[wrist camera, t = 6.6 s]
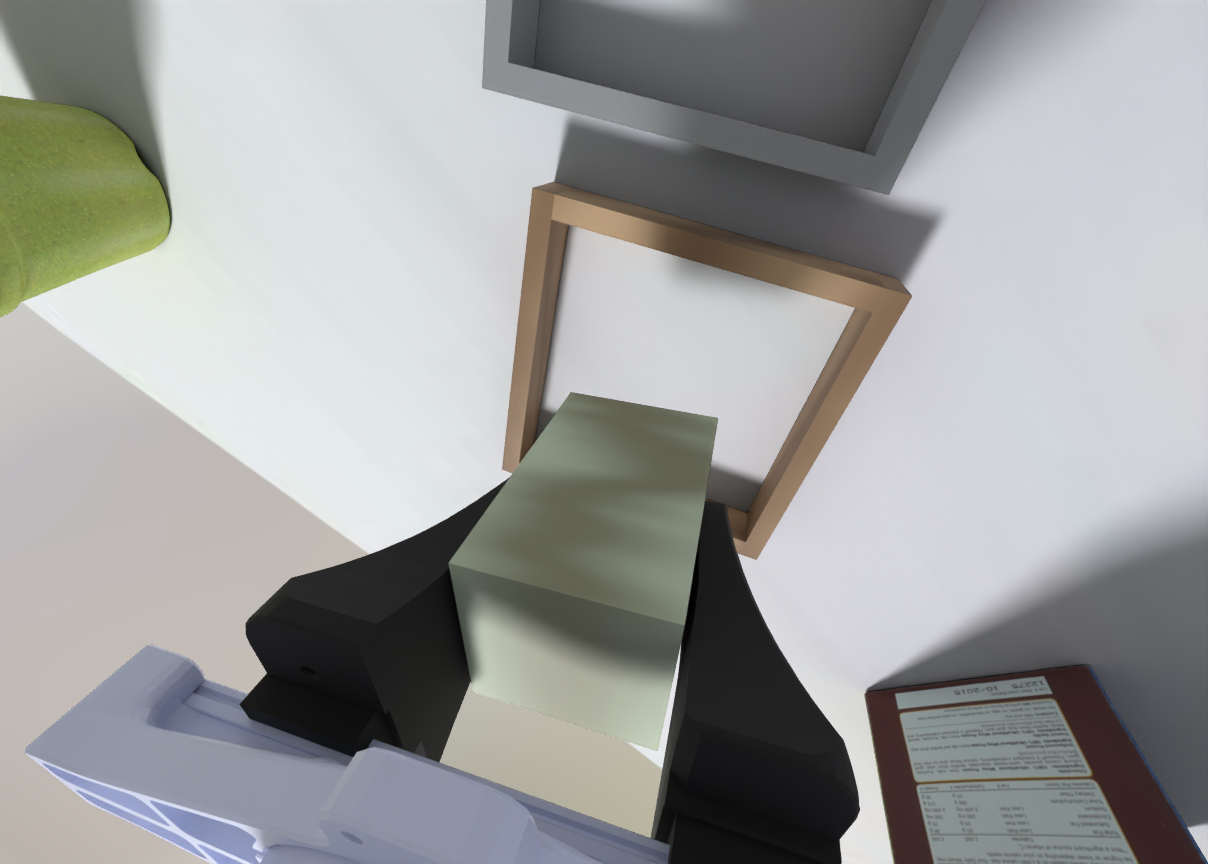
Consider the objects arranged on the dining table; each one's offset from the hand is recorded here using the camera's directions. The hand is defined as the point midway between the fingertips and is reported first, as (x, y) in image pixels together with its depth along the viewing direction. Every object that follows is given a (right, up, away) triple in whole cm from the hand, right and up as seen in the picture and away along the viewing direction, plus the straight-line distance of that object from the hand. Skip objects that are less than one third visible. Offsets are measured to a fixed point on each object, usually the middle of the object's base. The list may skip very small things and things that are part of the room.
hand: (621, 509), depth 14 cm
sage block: (+1, +1, +2) cm, 2 cm away
